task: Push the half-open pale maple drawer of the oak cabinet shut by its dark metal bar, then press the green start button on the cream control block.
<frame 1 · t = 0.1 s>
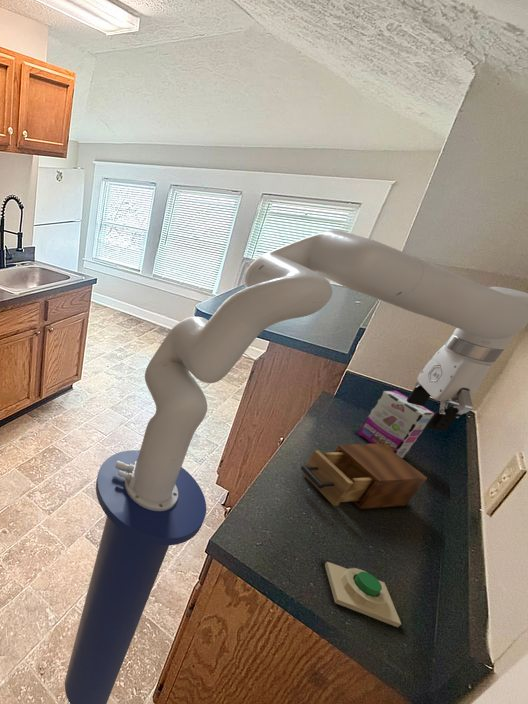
hand: (424, 415, 84), 25 cm above the counter, tool pointing down, fingers open, 9 cm apart
cabinet: (362, 488, 98), on the counter
drawer: (338, 476, 94), point 5 cm above the counter, slide at 6.0 cm
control: (358, 594, 73), on the counter
candy bar box: (379, 445, 114), on the counter
button: (367, 583, 71), point 3 cm above the counter, slide at 0.1 cm
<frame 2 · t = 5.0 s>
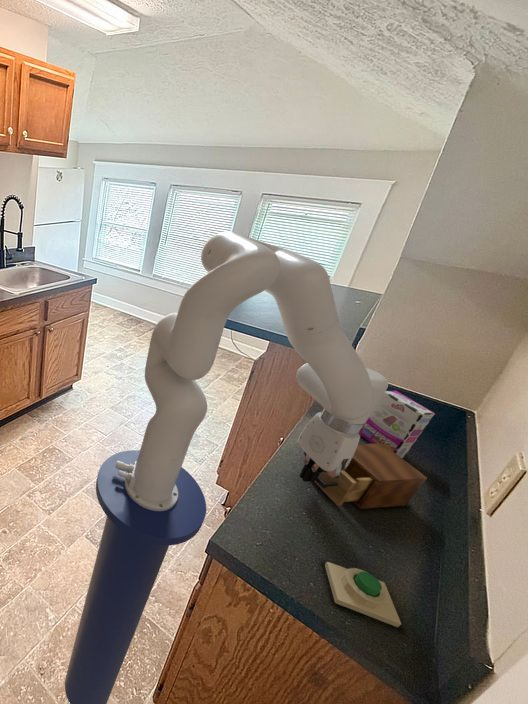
hand: (306, 478, 92), 5 cm above the counter, tool pointing down, fingers closed
drawer: (341, 476, 94), point 5 cm above the counter, slide at 5.0 cm, touching gripper
everything else where it was.
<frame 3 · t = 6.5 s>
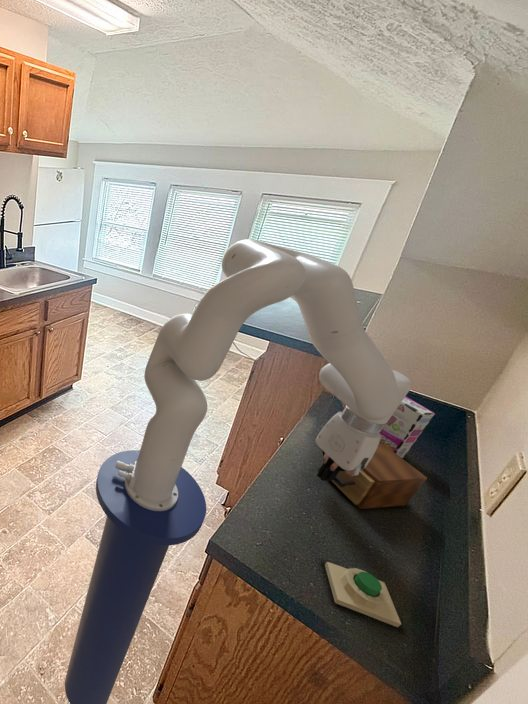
hand: (324, 477, 93), 5 cm above the counter, tool pointing down, fingers closed
drawer: (358, 475, 95), point 5 cm above the counter, slide at 0.0 cm, touching cabinet, gripper
everything else where it was.
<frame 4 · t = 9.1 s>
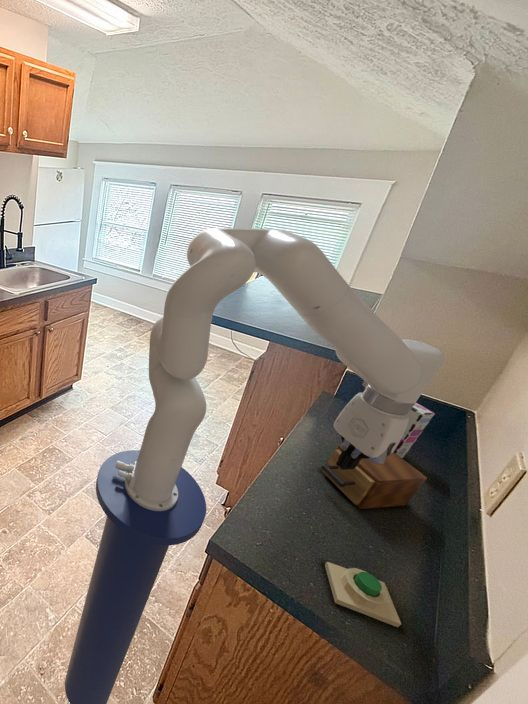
hand: (344, 466, 84), 14 cm above the counter, tool pointing down, fingers closed
drawer: (358, 475, 95), point 5 cm above the counter, slide at 0.0 cm
everything else where it was.
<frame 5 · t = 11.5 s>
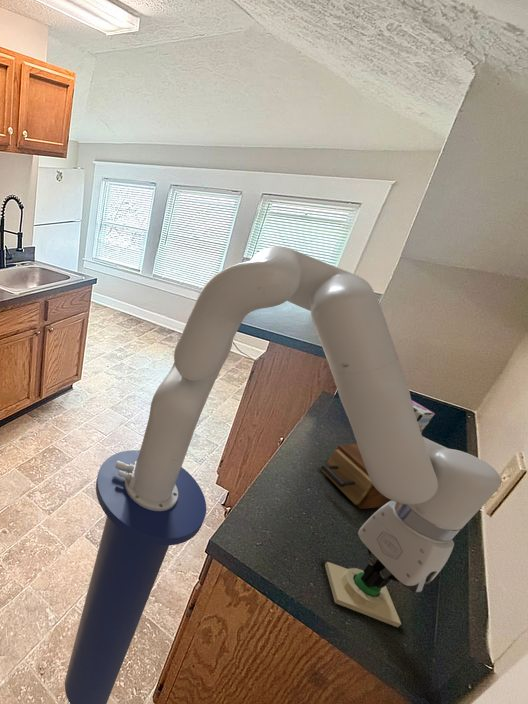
hand: (370, 582, 71), 4 cm above the counter, tool pointing down, fingers closed
button: (367, 584, 71), point 3 cm above the counter, slide at -0.1 cm, touching gripper
everything else where it was.
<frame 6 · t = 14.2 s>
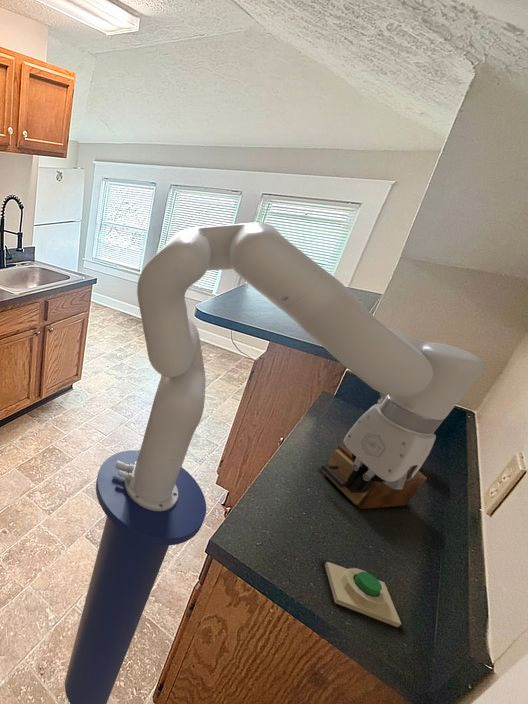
hand: (354, 489, 72), 18 cm above the counter, tool pointing down, fingers closed
button: (367, 583, 71), point 3 cm above the counter, slide at 0.1 cm
everything else where it was.
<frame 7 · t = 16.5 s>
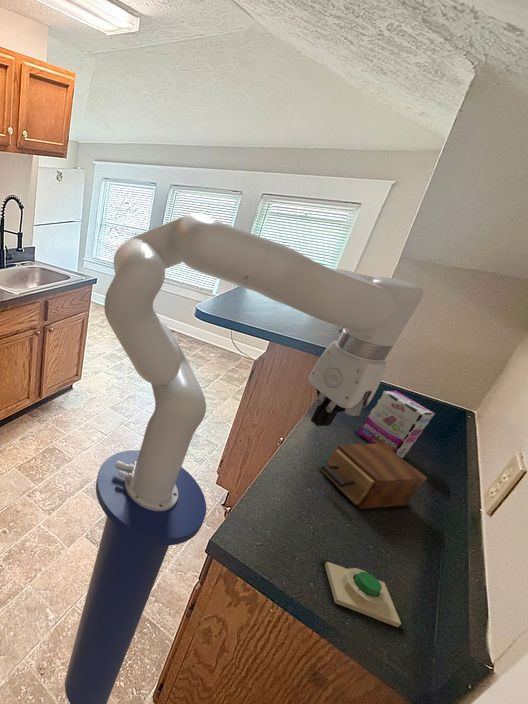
hand: (319, 423, 78), 25 cm above the counter, tool pointing down, fingers closed
nothing on the counter moved.
at the end: drawer slide at 0.0 cm; button pushed in 1.1 cm at the most during the clip, back to where it started at the end; button slide at 0.1 cm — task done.
